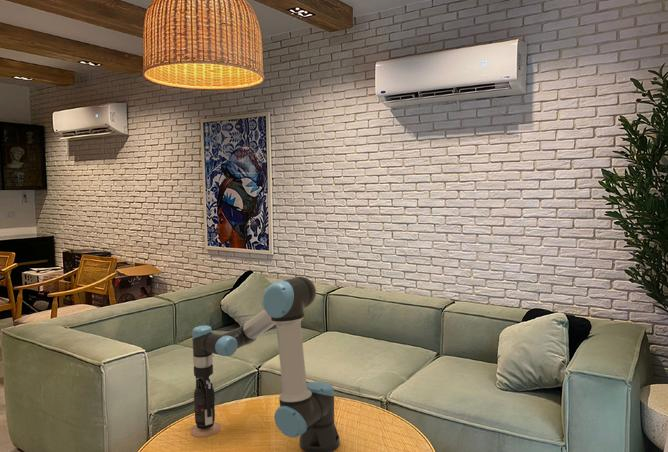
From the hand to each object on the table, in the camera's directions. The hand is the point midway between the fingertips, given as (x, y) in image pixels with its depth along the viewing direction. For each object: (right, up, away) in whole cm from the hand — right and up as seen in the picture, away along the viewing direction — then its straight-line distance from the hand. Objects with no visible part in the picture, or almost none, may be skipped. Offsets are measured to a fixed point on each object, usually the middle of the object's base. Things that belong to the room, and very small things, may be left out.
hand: (205, 419), depth 202 cm
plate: (0, -4, 0) cm, 4 cm away
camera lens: (0, -3, 0) cm, 3 cm away
